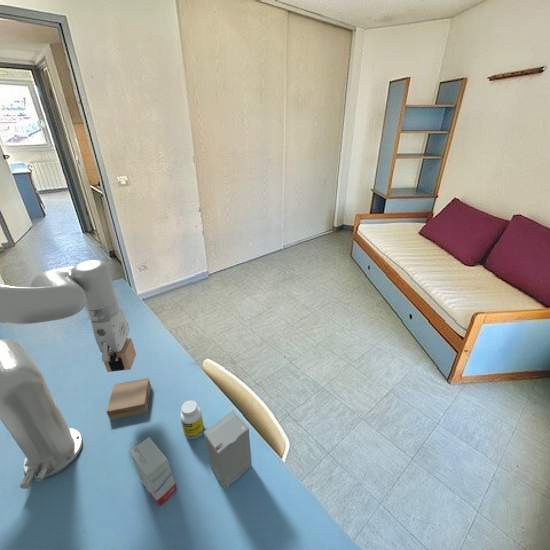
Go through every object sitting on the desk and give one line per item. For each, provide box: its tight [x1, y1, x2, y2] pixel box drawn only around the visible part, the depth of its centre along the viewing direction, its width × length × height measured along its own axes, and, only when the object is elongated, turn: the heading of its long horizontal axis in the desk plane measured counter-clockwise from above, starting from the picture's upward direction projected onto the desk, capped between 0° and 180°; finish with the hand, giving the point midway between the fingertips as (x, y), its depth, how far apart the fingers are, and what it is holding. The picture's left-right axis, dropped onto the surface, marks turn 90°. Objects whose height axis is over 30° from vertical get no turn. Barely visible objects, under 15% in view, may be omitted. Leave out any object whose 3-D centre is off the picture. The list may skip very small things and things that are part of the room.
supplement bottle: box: [179, 400, 205, 440], centre depth 81 cm, size 5×5×10 cm
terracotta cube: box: [100, 337, 137, 373], centre depth 84 cm, size 6×6×6 cm
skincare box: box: [203, 410, 252, 490], centre depth 70 cm, size 8×7×16 cm
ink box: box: [129, 436, 178, 507], centre depth 68 cm, size 9×5×12 cm, turn 48°
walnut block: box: [106, 377, 152, 421], centre depth 91 cm, size 10×10×4 cm
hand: (121, 360), depth 85 cm, fingers closed on terracotta cube, 6 cm apart
